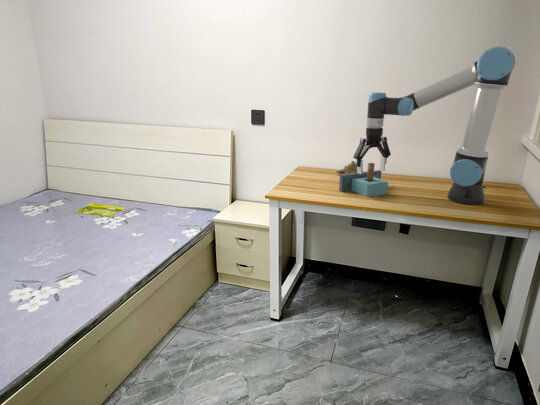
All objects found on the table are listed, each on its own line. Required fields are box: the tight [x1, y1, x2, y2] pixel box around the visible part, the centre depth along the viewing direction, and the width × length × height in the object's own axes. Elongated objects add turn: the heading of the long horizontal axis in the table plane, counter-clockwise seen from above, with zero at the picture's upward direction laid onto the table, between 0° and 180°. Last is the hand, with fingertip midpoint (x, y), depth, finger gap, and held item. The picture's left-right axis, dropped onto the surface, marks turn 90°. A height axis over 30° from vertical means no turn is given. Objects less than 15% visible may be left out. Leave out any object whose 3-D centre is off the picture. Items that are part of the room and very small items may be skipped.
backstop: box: [338, 169, 383, 193], centre depth 196 cm, size 2×24×8 cm, turn 115°
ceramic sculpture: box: [335, 160, 364, 175], centre depth 221 cm, size 11×9×15 cm
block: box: [350, 177, 389, 198], centre depth 191 cm, size 12×12×6 cm
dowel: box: [366, 162, 375, 182], centre depth 190 cm, size 3×3×14 cm
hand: (371, 172), depth 188 cm, fingers open, 13 cm apart
